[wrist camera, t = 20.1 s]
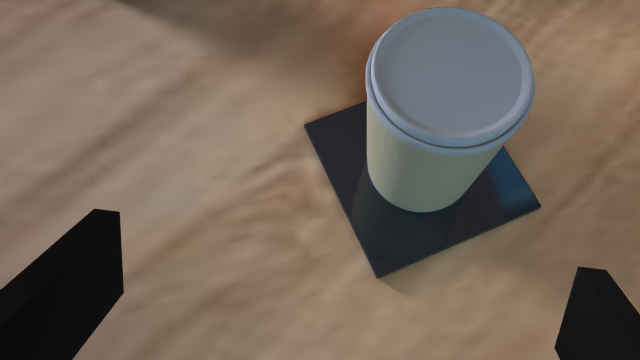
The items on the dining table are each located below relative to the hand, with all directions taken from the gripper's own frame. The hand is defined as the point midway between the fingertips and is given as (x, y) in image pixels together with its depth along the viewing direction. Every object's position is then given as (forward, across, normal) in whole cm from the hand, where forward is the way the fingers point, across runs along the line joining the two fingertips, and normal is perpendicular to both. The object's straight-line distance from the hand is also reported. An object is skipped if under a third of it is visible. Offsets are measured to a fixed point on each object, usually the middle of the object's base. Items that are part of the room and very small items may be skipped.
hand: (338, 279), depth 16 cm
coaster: (+26, +5, -5) cm, 27 cm away
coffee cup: (+26, +5, -5) cm, 27 cm away
